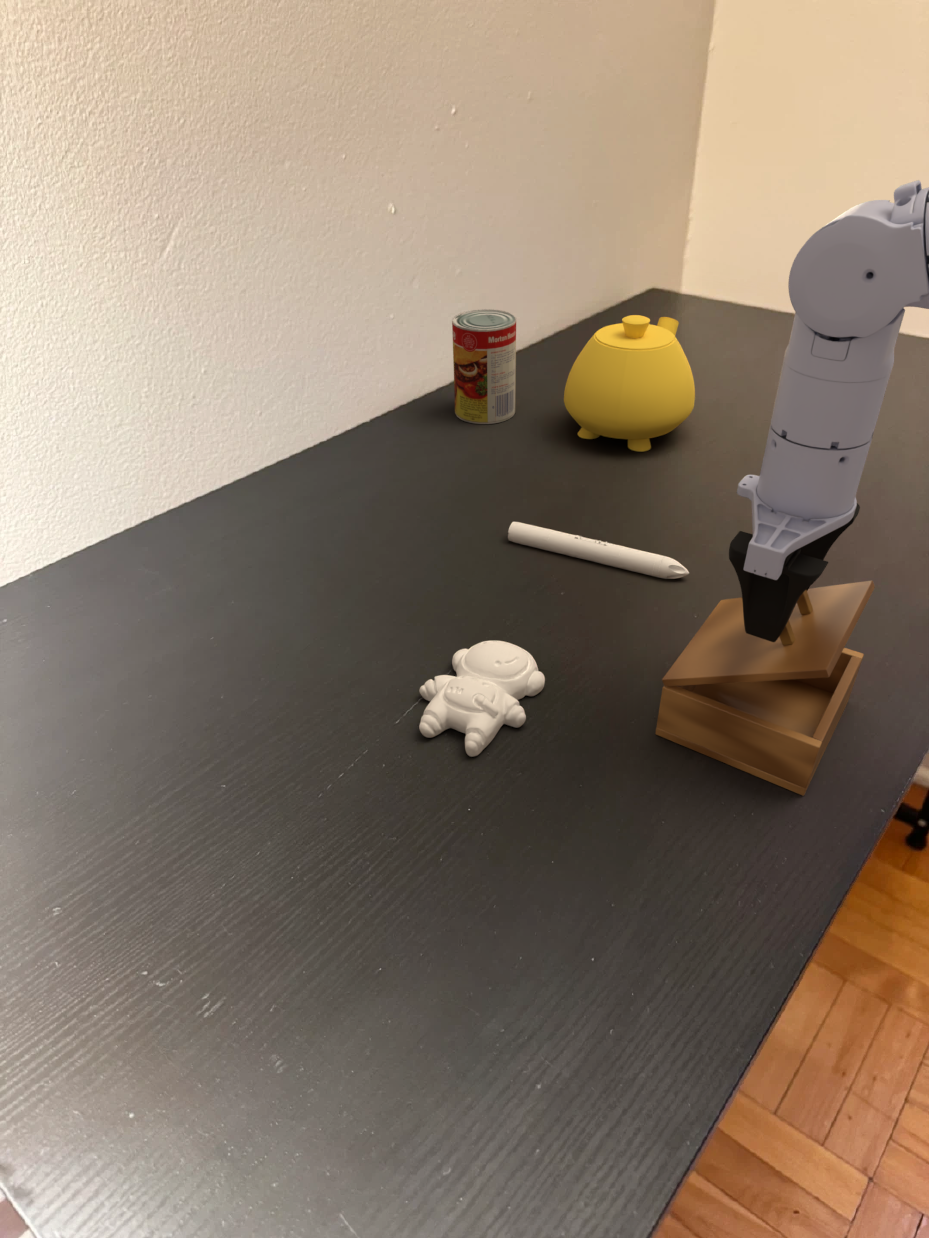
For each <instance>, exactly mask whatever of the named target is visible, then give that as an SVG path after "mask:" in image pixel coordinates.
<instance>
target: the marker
mask: <svg viewBox="0 0 929 1238" xmlns="http://www.w3.org/2000/svg"><path fill="white" fill-rule="evenodd" d="M508 527H509V528H508V531H507V533H508V534H507V540H508V541H509V542H511V543H514V544H519V545H523V546H527V547H531V548H536V549H539V550H543V551H548V552H551V553H556V554H560V555H565V556H569V557H571V558H577V559H581V560H585V561H588V562H593V563H597V564H601V565H605V566H609V567H613V568H618V569H621V570H626V571H630V572H634V573H638V574H643V575H646V576H651V577H654V578H657V579H664V580H675V579H680V578H683V577H686V576H688V575H689V574H690V572H689V570H688V569H687V568H686V567H685V566H684V565H683V564H681V562H679V561H678V560H676V559H674V558H672V557H669V556H666V555H662V554H658V553H653V552H648V551H644V550H640V549H636V548H632V547H627V546H624V545H620V544H615V543H611V542H608V541H607V540H606V541H602V540H601V539H600V540H598V539H597V538H596V539H593V538H588V537H584V536H582V535H578V534H571V533H567V532H563V531H558V530H555V529H550V528H546V527H541V526H538V525H534V524H529V523H524V522H520V521H512V522H511V523H510V525H509V526H508Z"/></svg>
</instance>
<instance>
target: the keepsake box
mask: <svg viewBox="0 0 929 1238" xmlns="http://www.w3.org/2000/svg"><path fill="white" fill-rule="evenodd" d="M864 656H865V654H864V653H862V652H859V651H856V650H853V649H850V648H847V647H844V649H843V651H842V653H841V655H840V657H839V659H838V661H837V663H836V665H835V667H834V669H833V671H832V673H831V674H830V676H829V677H827V678H809V679H790V680H772V681H754V682H736V683H718V684H700V685H682V686H664V685H663V686H662V688H661V689H662V690H661V696H660V700H659V701H660V702H659V709H658V715H657V721H656V727H655V733H654V734H655V735H656V736H658V737H661V738H663V739H666V740H668V741H671V742H673V743H675V744H678V745H681V746H683V747H685V748H687V749H689V750H692V751H695V752H697V753H699V754H701V755H704V756H705V757H706V756H707V757H709V758H711V759H714V760H716V761H719V762H721V763H724V764H725V765H728V766H731V767H733V768H736V769H738V770H740V771H742V772H745V773H748V774H750V775H751V776H755V777H757V778H759V779H762V780H764V781H766V782H769V783H771V784H774V785H776V786H778V787H781V788H783V789H785V790H788V791H791V792H792V793H795V794H798V795H800V796H802V797H804V796H805V795H806V793H807V790H808V788H809V786H810V784H811V782H812V780H813V777H814V775H815V773H816V771H817V769H818V767H819V764H820V762H821V760H822V759H823V756H824V755H825V752H826V750H827V747H828V746H829V744H830V741H831V740H832V737H833V735H834V732H835V730H836V728H837V726H838V724H839V722H840V720H841V718H842V715H843V714H844V711H845V709H846V707H847V705H848V703H849V700H850V697H851V694H852V691H853V688H854V686H855V682H856V679H857V677H858V674H859V671H860V668H861V665H862V661H863V659H864Z"/></svg>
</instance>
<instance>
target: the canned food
mask: <svg viewBox="0 0 929 1238" xmlns="http://www.w3.org/2000/svg"><path fill="white" fill-rule="evenodd" d="M451 325H452V326H451V328H452V329H451V330H452V331H451V332H452V355H453V356H452V358H453V360H452V361H453V363H452V364H453V389H454V390H453V392H454V394H453V395H454V414H455V416H456V417H457V418H458V419H460V420H461V421H464V422H465V423H470V424H475V425H493V424H499V423H502V422H505V421H508V420H510V419H511V418H513V417H514V416H515V413H516V380H517V379H516V378H517V377H516V375H517V374H516V373H517V372H516V371H517V369H516V368H517V367H516V366H517V317H516V315H514V314H513V313H511V312H508V311H505V310H501V309H494V308H493V309H492V308H479V309H471V310H466V311H463V312H460V313H457V314H455V315H454V316H453V317H452V319H451Z"/></svg>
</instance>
